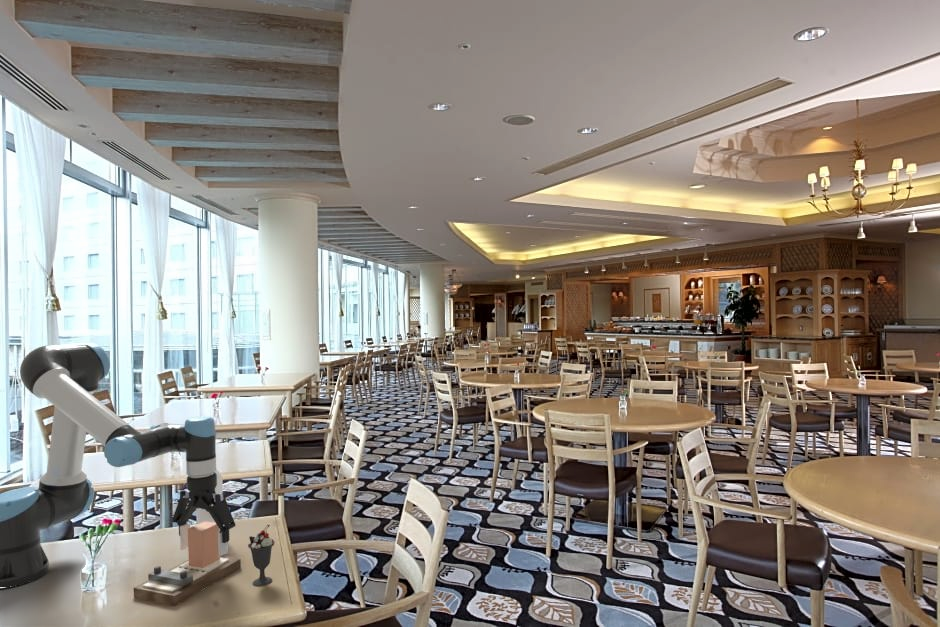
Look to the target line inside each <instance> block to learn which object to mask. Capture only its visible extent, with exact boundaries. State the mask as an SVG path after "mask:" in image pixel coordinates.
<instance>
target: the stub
mask: <svg viewBox="0 0 940 627" xmlns="http://www.w3.org/2000/svg"><path fill="white" fill-rule="evenodd" d="M218 531H219V527H218V526H217V524H216V523H214V522H207V521H205V522H202V523H200V524H198V525H197V524H196V525H194V526H190V528H189V529H188V548H187V549H188V551H187V552H188V560H189V561H188V562H186V563H184V564H182V565H180V567H184V568H189V569H195V570H201V571H206V572H207V573H208V572H210V571H212V570H213V569H215V568H217V567H219V566H221V565H222V564H224V563H226V562H228V561H229V559H227V558H221V557H220V556H219V551H218Z"/></svg>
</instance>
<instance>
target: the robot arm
mask: <svg viewBox="0 0 940 627" xmlns="http://www.w3.org/2000/svg"><path fill="white" fill-rule="evenodd" d="M110 362H111V361H110V358H109V356H108V354H107V353H106V351H105V349H104V348H102V346H100V345H99V344H96V343H91V342H90V343H89V342H87V343H86V342H78V343H65V344H54V345H53V344H52V345H50V344H49V345H43V346H39V347H37V348H35V349H33V350H32V351H30V352H28V354H26V356H25V357H24V358H23V360H22V362H21V364H20V367H19V368H20V369H19V375H20V376H19V377H20V379H21V381H22V384H23V385H24V386H25V388H26V389H27V390H28V391H29V392H30V393H31V394H32V395H34V396H35V397H36V398H38V399H45V400H47V401H48V402H49V403H51V404H52V405H53V406H54V409H53V418H52V427H51V433H50V442H49V452H48V460H47V468H46V471H45V473H44V474H43V475H41V476H40V477H39V480H38V481H39V482H38V487H36V486H22V487H18V488H16V489H10V490H7V491H4V492H2V493H0V587H10V586H15V585H19V586H21V585H20V584H22V585H24V584H23V583H25V584H28V583H30V582H29V581H31V582H33V581H35V579H36V580H37V578H38V579H40V578H41V576H42V577H43V576H45V575H46V574H47V573H48V572H49V570H50V561H49V559H48V556H47V554H46V551H45V550H44V548H43V546H42V544H41V531H42V530H45V529H48V528H50V527H53V526H56V525H59V524H61V523H64V522H66V521H67V522H69V521H71V520H75V518H77V517H79V516H81V515H83V514H84V513H86V512H87V511H88V510H89V509H90V507H91V506H92V503H93V502H94V498H95V489H94V487H93V484H92V481H90V479H88V477H87V474H86V473H85V472H84V471H83V470H82V469H83V461H84V454H85V448H86V447H85V446H86V445H85V444H86V437H87V434H88V435H90V436H91V437H92V438H93V439H95V440H96V441H97V442H98V443H99V444H100V445H102V447H104V449H103V453H104V454H103V456H104V458H106V461H107V462H106V463H108V465H110V466H111V467H113V468H122V467H126V466H131V465H135V464H137V463H140V462H143V461H145V460H148V459H149V460H150V459H152V458H155V457H159V456H161V455H164V454H167V453H176V452H177V453H185V472H186V473H185V474H186V475H187V477H186V488H185V489H182V490H180V492H179V500H178V502H177V505H176V507H175V511H174V513H173V516H172V520H171V521H172V523H176V525H177V526H178V536H179V540H180V542H179V544H180V550H181V551H183V550H186V549H188V529H189V528H191V523H190V518H191V517H192V515H193V514H194V513H195V512H196V508H201V509H205V510H206V511H207V512H209V513H210V515H211V516H212V518H213V519H214V521H215V523H216V524H217V526H218V527H219V529H220V531H218V551H219V556H225V555H226V554H228V553H229V542H230V530H231V529H233V528H235V527H236V522H235V519H234V517H233V515H232V512H231V509H230V507H229V505H228V502H227V500H226V498H227V497H226V493H225V492H224V491H223V492H222V493H217V494H216V492H215V487H216V486H217V474H216V473H215V471H216V469H217V454H216V449H217V448H216V436H217V431H216V424H215V419H214V418H213V417H212V416H205V415H204V416H195V417H189V418H187V419H186V420H185V421H184V424H183V423H181V424H180V423H178V424H177V423H166V422H165V423H156V424H153V425H152V426H151V427H149V428H147V429H145V430H141V431H138V430H136V429H135V427H133V426H131V425H130V424H129V423H127V422H126V421H125V420H124V419H122V418H121V417H120V416H119V415H117V414H116V413H115V412H114V411H112V409H111V408H109V407H108V406H106V405H105V404H104V403H102V401H100V400H99V399H98V398H96V397H95V396H94V395H92V394H93V393H95V392H96V391H98V389H99V388H98V387H99V381H102V380H103V379H105V378H106V376H108V374H109V372H110V369H111V367H110V366H111V363H110ZM212 504H213V506H211V505H212ZM223 525H224V526H223ZM39 577H40V578H39ZM32 580H33V581H32ZM27 582H28V583H27ZM15 587H16V586H15Z"/></svg>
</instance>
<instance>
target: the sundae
mask: <svg viewBox="0 0 940 627" xmlns="http://www.w3.org/2000/svg"><path fill="white" fill-rule="evenodd" d="M270 526H271V525H270V524H267V525H266V527H265V528H264V529H263V530H260V532H259V533H257V534H256V535H255V536H249V537H248V539H249V542H250V543H248V545H247V548H248V549H250V552H251V558H252V563H253V566H254V567H255V568H256V569H258V570H259V577H258V578H256V579H254V580H253V581H252V585H253V586H254V587H264V586H267V585H269V584H271V583H272V582H273V578H272V577H269V576H266V573H265V570H266V568H267V567H268V566H269V565H270V563H271V557H272V548H273V546H275V539H272V538H271V536H270V534H269V533H268V532H267V530H268V528H269V527H270Z"/></svg>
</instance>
